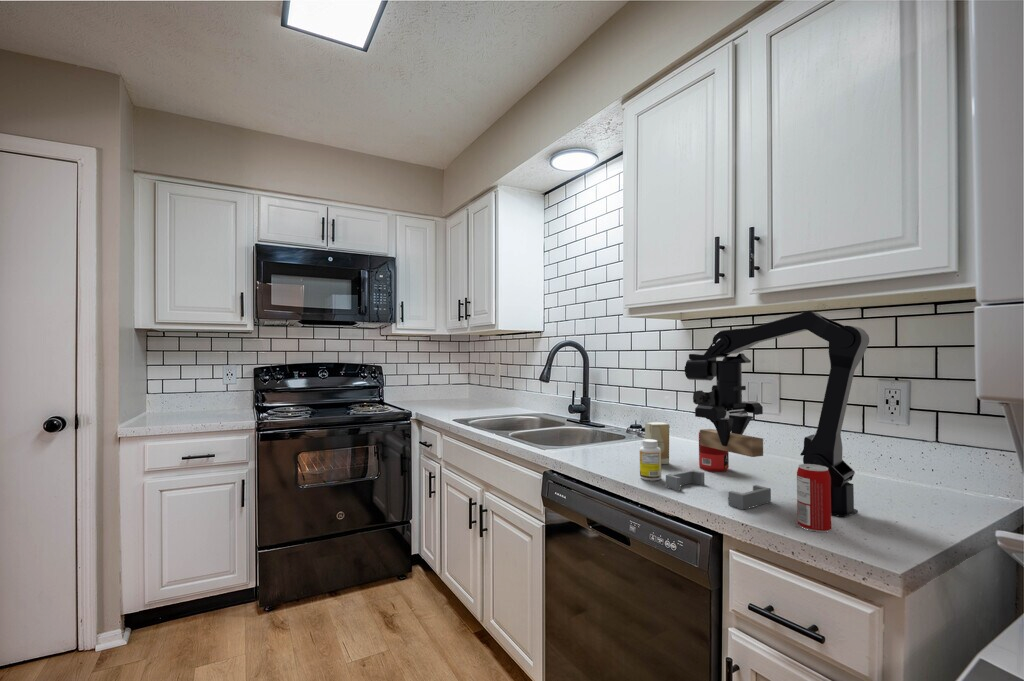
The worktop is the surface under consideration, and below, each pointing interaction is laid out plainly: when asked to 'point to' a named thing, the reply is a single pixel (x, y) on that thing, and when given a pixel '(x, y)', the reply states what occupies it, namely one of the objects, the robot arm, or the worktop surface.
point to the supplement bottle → (650, 460)
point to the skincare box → (659, 438)
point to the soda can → (814, 497)
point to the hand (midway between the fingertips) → (729, 445)
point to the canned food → (713, 458)
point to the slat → (733, 443)
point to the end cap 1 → (684, 479)
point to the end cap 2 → (750, 497)
